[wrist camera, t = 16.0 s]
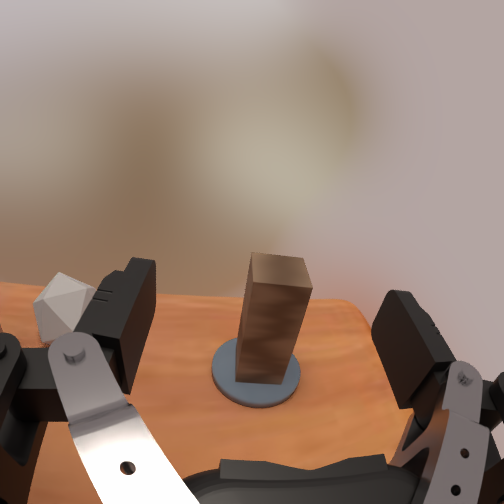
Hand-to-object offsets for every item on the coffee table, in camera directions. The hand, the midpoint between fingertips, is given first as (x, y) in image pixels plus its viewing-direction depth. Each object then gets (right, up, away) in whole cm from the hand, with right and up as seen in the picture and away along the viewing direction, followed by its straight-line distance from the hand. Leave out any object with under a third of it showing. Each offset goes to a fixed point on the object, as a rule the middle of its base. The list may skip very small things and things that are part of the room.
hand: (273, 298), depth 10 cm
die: (-23, -9, +24) cm, 34 cm away
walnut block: (0, -11, +24) cm, 26 cm away
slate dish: (0, -12, +24) cm, 27 cm away
